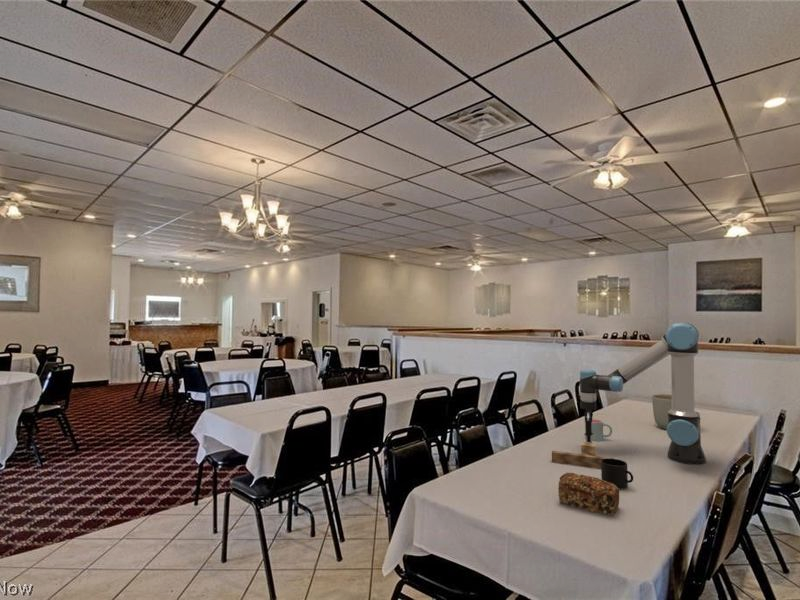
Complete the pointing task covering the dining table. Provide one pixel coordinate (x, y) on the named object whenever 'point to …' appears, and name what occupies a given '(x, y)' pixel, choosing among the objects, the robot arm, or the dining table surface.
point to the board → (577, 459)
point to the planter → (661, 409)
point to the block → (588, 448)
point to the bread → (588, 493)
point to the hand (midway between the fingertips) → (589, 447)
